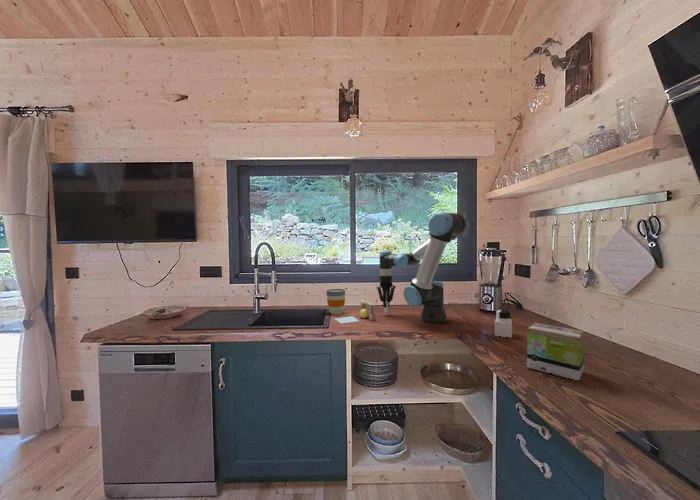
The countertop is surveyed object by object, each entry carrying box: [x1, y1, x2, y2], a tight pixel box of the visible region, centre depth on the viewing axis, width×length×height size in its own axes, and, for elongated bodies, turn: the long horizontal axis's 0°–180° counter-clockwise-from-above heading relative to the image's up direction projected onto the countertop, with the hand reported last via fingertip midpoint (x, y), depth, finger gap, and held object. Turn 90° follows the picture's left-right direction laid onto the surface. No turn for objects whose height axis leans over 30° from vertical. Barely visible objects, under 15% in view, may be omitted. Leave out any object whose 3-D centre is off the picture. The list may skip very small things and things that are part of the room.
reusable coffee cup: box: [326, 288, 346, 315], centre depth 190 cm, size 13×13×15 cm
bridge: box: [360, 300, 376, 321], centre depth 177 cm, size 3×14×9 cm, turn 21°
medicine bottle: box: [494, 309, 513, 339], centre depth 139 cm, size 7×7×12 cm
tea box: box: [526, 322, 585, 381], centre depth 100 cm, size 15×10×15 cm, turn 45°
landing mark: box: [333, 316, 360, 325], centre depth 172 cm, size 12×12×1 cm
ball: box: [359, 309, 369, 319], centre depth 176 cm, size 6×6×6 cm
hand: (386, 312), depth 181 cm, fingers closed
